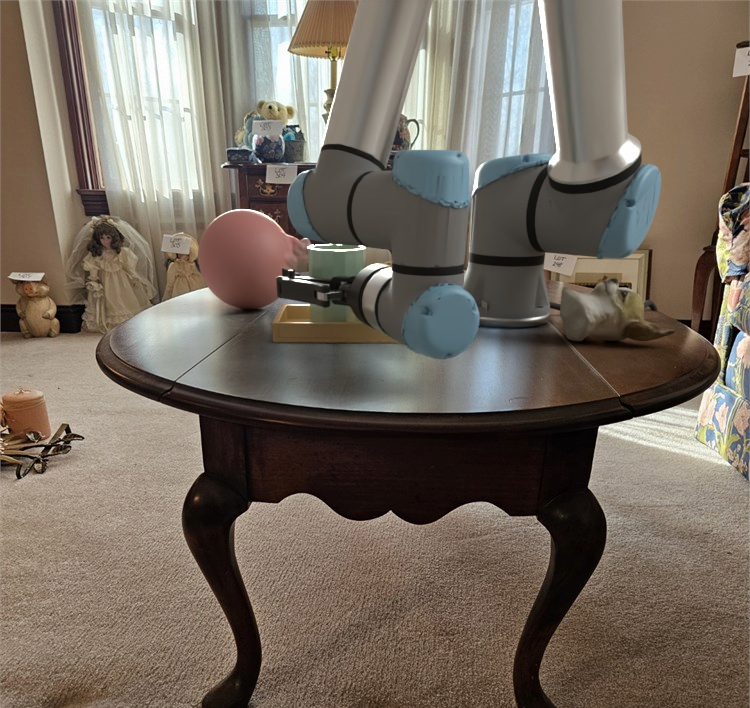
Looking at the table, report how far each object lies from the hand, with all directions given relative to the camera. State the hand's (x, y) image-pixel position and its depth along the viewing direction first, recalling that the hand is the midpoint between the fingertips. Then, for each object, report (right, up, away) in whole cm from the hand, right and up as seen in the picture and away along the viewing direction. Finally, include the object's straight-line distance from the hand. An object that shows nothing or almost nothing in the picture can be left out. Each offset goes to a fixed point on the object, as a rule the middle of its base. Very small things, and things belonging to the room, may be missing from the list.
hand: (330, 275), depth 95 cm
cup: (+1, -7, 0) cm, 8 cm away
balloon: (-12, -1, +15) cm, 20 cm away
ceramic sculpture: (+39, -10, -2) cm, 41 cm away
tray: (+1, -8, +1) cm, 8 cm away
